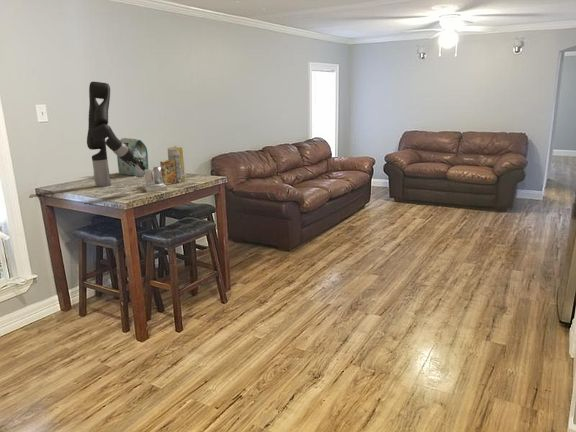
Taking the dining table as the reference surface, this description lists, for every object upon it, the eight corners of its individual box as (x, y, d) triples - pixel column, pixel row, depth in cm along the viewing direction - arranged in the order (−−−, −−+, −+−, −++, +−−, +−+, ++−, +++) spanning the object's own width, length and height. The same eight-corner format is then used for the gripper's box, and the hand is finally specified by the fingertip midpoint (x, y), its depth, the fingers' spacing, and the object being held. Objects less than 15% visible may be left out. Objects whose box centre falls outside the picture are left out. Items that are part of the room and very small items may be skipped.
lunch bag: (115, 174, 340) (111, 138, 333) (135, 171, 352) (131, 136, 345) (132, 177, 325) (127, 139, 318) (152, 173, 337) (148, 137, 330)
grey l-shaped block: (147, 192, 271) (144, 173, 268) (142, 188, 284) (140, 170, 281) (167, 189, 276) (165, 171, 273) (161, 185, 289) (160, 168, 286)
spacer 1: (136, 177, 264) (134, 160, 262) (135, 176, 268) (133, 159, 266) (144, 176, 266) (142, 160, 264) (143, 175, 270) (141, 159, 268)
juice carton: (187, 180, 304) (184, 145, 298) (180, 182, 297) (176, 146, 291) (176, 179, 308) (173, 144, 302) (169, 182, 301) (165, 146, 295)
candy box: (166, 185, 291) (164, 161, 287) (162, 184, 293) (159, 161, 289) (176, 182, 298) (174, 159, 294) (172, 182, 300) (170, 159, 296)
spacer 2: (155, 184, 277) (153, 168, 274) (154, 183, 281) (152, 167, 278) (162, 183, 279) (161, 167, 276) (161, 182, 282) (159, 166, 280)
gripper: (133, 146, 253) (153, 164, 265) (117, 145, 260) (137, 163, 273) (127, 157, 250) (146, 175, 263) (111, 155, 257) (131, 173, 270)
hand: (141, 169), depth 268 cm, fingers closed on spacer 1, 4 cm apart
